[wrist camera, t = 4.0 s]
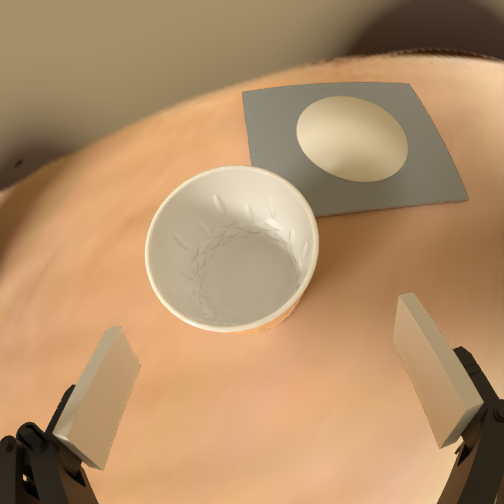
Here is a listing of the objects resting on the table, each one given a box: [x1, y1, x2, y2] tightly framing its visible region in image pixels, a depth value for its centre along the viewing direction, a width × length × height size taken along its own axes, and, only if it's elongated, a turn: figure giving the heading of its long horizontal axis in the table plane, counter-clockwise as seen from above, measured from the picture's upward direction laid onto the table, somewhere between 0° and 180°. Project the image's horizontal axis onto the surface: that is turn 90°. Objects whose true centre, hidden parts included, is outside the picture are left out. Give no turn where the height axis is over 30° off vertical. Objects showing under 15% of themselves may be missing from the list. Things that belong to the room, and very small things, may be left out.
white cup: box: [145, 165, 319, 334], centre depth 18 cm, size 8×8×10 cm
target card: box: [242, 82, 469, 217], centre depth 25 cm, size 20×16×1 cm
